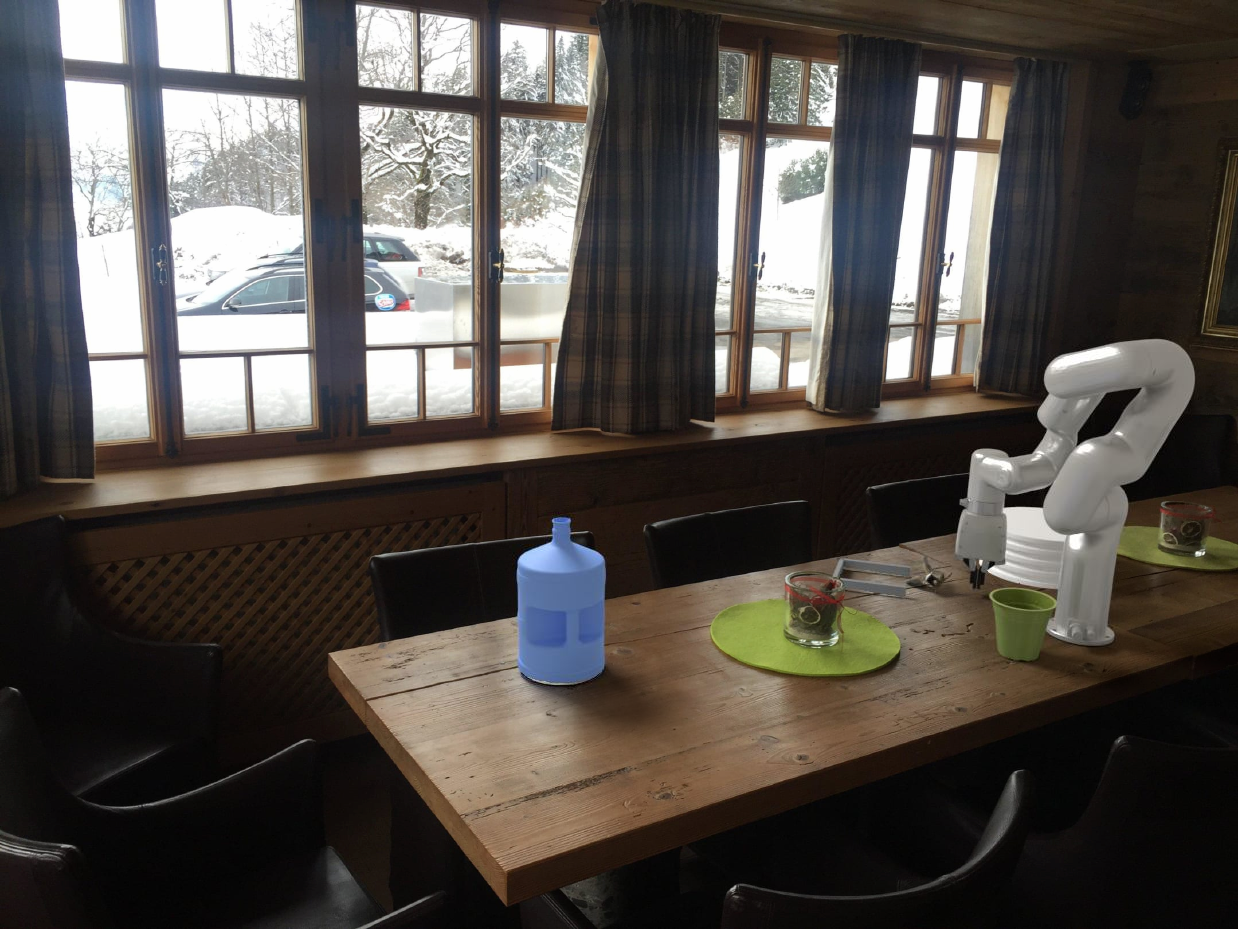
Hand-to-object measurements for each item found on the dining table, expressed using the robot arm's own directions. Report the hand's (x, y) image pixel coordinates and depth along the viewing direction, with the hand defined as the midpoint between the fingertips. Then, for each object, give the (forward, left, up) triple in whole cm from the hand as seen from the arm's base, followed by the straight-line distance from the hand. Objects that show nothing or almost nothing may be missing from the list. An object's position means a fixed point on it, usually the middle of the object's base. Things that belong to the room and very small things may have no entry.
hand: (976, 587), depth 219 cm
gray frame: (0, +22, -2) cm, 22 cm away
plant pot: (-30, -8, -2) cm, 31 cm away
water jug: (-67, +70, -2) cm, 97 cm away
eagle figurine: (+2, +11, -2) cm, 11 cm away
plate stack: (+25, -15, -2) cm, 29 cm away
